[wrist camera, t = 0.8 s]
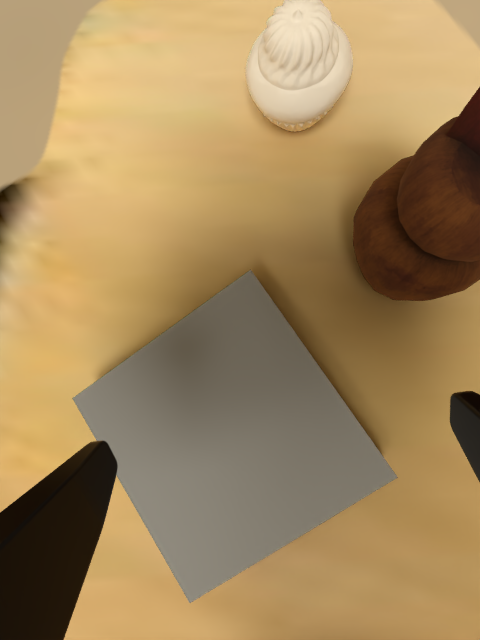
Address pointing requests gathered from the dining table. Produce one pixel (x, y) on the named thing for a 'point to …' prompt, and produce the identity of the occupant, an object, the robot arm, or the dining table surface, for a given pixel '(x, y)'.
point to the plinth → (230, 437)
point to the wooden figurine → (425, 216)
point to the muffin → (299, 65)
